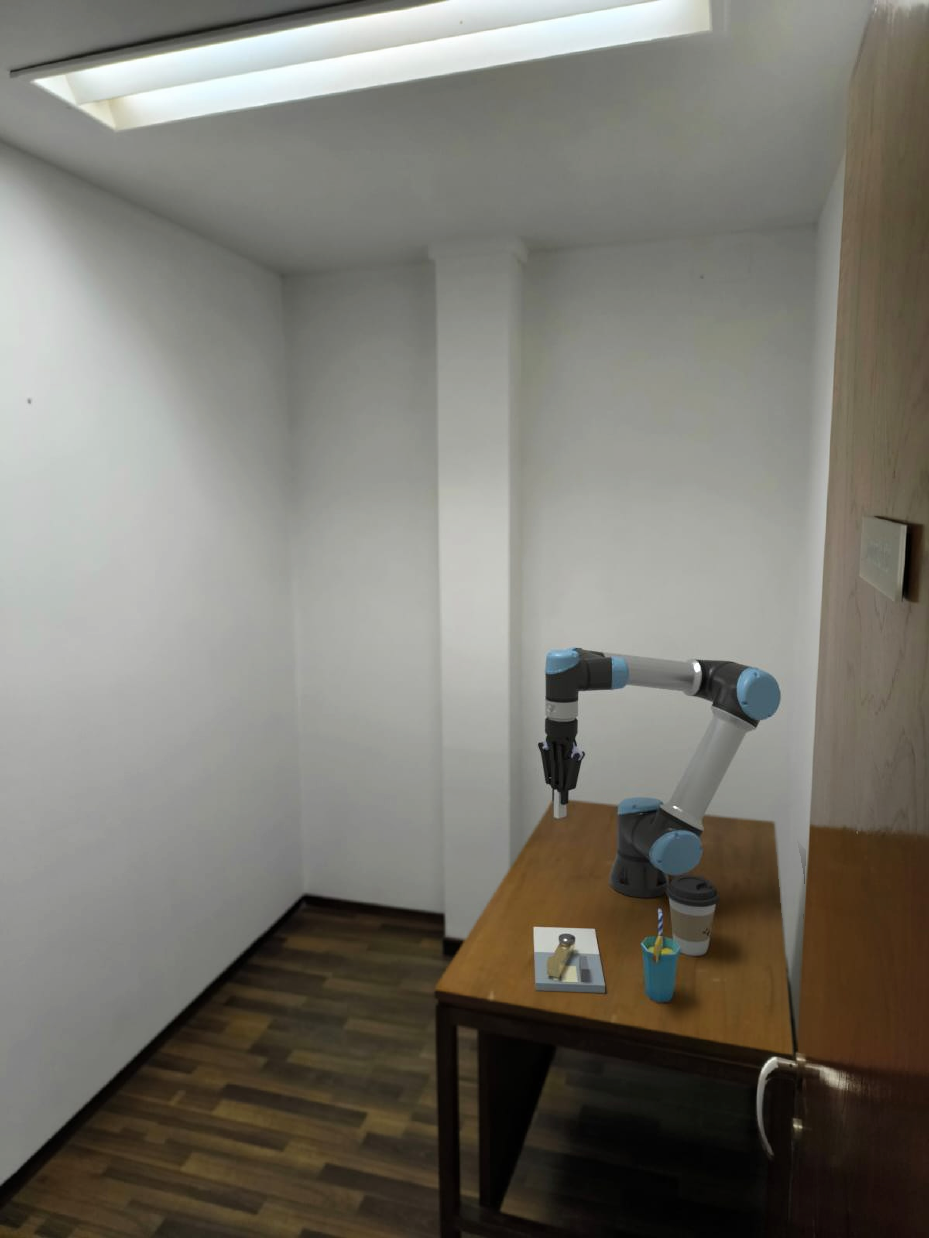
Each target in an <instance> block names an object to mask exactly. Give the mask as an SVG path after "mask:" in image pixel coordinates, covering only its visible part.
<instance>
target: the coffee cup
mask: <svg viewBox="0 0 929 1238" xmlns="http://www.w3.org/2000/svg"><path fill="white" fill-rule="evenodd" d="M665 894H666V895H667V897H668V901H669V902H668V903H669V911H670V922H671V930H672V931H671V932H672V939H673V940H674V941H675V942H676V943H677V944H678V945H679V946H680V947H681V949H680V953H681V954H683V955H686V956H691V957H692V956H693V957H699V956H704V955H705V954H706V953H707V951H708V949H709V945H710V940H711V939H710V938H711V934H712V933H711V932H712V927H713V921H714V916H715V911H716V904H718V902H719V901H720V897H719V895H720V894H719V891H718V890H717V888H716V887H715V885H714V883H713V882H712V881H711V880H709V879H707V878H705V877H702V876H698V875H692V874H685V875H683V874H681V875H677V876H676V877H674V878H673V879H671V882H670V883H669V885H668V887H667V891H666V893H665Z"/></svg>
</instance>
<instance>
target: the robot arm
mask: <svg viewBox="0 0 929 1238" xmlns="http://www.w3.org/2000/svg"><path fill="white" fill-rule="evenodd" d="M544 673H545V696H544V697H545V699H544V700H545V703H544V704H545V706H544V707H545V710H544V711H545V712H544V713H545V714H544V715H545V716H546V717H545V719H544V732H545V735H546V737H545V739H544V740H542V741H541V742H540V741H539V742H538V743H537V748H538V749H539V752H540V755H541V762H542V763H541V764H542V769H543V775H544V782H545V784H546V785H549V786H550V787H551V790H552V791H551V792H552V793H551V799H552V802H553V818H555V819H563V818H565V817H567V806H568V804H569V797H570V796H569V793H570V791H571V790H575V789H576V788H577V784H578V780H579V774H580V770H581V767H582V766H581V765H582V761H583V759H584V758H585V756H586V752H585V751H581V750H580V749H579V748H578V747H577V746H578V742H577V740H576V737H577V736H578V733H579V720H578V716H579V692H589V691H591V692H592V691H595V692H596V691H614V690H620V689H623V688H625V687H626V686H634V687H641V688H642V687H643V688H652V689H660V690H667V691H669V690H670V691H675V692H676V691H677V692H683V694H684V695H686V696H687V697H694V698H699V699H703V700H706V701H709V702H711V703H712V704H711V706H710V710H711V713H712V719H711V720H710V722H709V724H708V726H707V728H706V730H705V732H704V733H703V736H702V737H701V739H700V741H699V743H698V745H697V747H696V748H695V751H694V753H693V755H692V757H691V758H690V760H689V762H688V765H687V767H686V768H685V770H684V772H683V774H682V776H681V778H680V780H679V781H678V784H677V786H676V787H675V790H674V791H673V793H672V795H671V797H670V799H669V801H668V802H666V803H664V802H663V801H662V800H661V799H659V798H655V797H654V798H653V797H646V796H643V797H641V796H639V797H629V798H625V799H623V800H620V802H619V803H618V809H617V814H616V815H617V833H616V834H617V838H616V839H617V843H616V846H617V847H616V856H615V859H614V862H613V865H612V868H611V870H610V872H609V885H610V887H611V888H612V889H613V890H614V891H616V892H618V893H620V894H623V895H626V896H629V897H634V898H646V899H647V898H657V897H660V896H663V895H664V894H667V893H666V891H667V887H668V885H669V884H670V883H669V882H670V881H669V880H670V879H669V876H668V875H670V876H682V875H683V874H687V873H689V872H691V871H692V870H693V869H694V868H695V867H696V866H697V865H698V864H699V862H700V860H701V859H702V856H703V844H702V842H701V837H702V834H703V832H704V831H705V829H704V826H703V821H702V820H703V818H704V816H705V814H706V812H707V810H708V808H709V806H710V805H711V802H712V800H713V799H714V796H715V795H716V792H717V791H718V789H719V787H720V786H721V785H720V784H721V783H722V781H723V779H724V777H725V775H726V774H727V772H728V770H729V768H730V766H731V764H732V761H733V759H734V758H735V756H736V754H737V752H738V750H739V747H740V746H741V744H742V742H743V740H744V738H745V736H746V734H747V733H748V732H749V733H750V732H752V731H755V730H757V728H758V725H759V724H760V722H761V721H764V720H767V719H768V718H771V717H773V716H774V715H775V714H776V712H777V711H778V709H779V706H780V704H781V698H782V695H781V694H782V692H781V690H780V687H779V686H780V685H779V683H778V680H777V679H776V678H775V677H774V676H773V675H772V674H770V673H769V672H767V671H765V670H762V669H760V668H758V667H752V666H750V665H745V664H740V663H738V662H735V661H730V660H717V659H715V660H714V659H713V660H712V659H711V660H710V659H696V658H689V659H687V661H678V660H672V659H671V660H670V659H663V658H654V657H649V656H648V657H646V656H637V655H630V654H622V653H621V654H620V653H616V652H615V653H614V652H606V651H605V652H604V651H597V650H596V651H595V650H587V649H583V648H581V647H576V646H575V647H573V646H572V647H568V648H566V649H554V650H551V651H550V650H549V651H548V653H547V654H546V658H545V669H544Z"/></svg>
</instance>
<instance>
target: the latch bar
mask: <svg viewBox="0 0 929 1238" xmlns="http://www.w3.org/2000/svg"><path fill="white" fill-rule="evenodd" d="M574 947H575V936H573V935H571V934H561V935H559V945H558V947H557V948H556V950H555V952H554V954H553V956H552V957H551V956H550V957H549V958H548V960H547V975H550V976H555V977H560V975H561V973H562V971H563V969H564V967H565V965H566V963H567V961H568V959H569V957H570V955H571V953H572V951H573V949H574Z"/></svg>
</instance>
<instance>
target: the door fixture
mask: <svg viewBox="0 0 929 1238" xmlns="http://www.w3.org/2000/svg"><path fill="white" fill-rule="evenodd" d="M561 934H571V935H573V936H575V947H574V949H573V951H572V953H571V955H570V957H569V959H568V961H567V963H566V965H565V967H564V969H563V971H562V973H561V975H560V977H555V976H550V975H547V960H548V958H549V957H550V956H551V957H552V956H553V954H554V952H555V950H556V948H557V947H558V945H559V935H561ZM533 955H534V956H533V958H534V959H533V961H534V986H535V989H534V990H535V991H540V992H542V991H544V992H545V991H547V992H567V993H568V992H573V993H596V994H606V983H605V979H604V973H603V972H604V971H603V967H602V961H601V957H600V956H601V955H600V951H599V945H598V941H597V934H596V929H595V928H582V927H581V928H579V927H578V928H577V927H551V926H550V927H549V926H548V927H546V926H533Z"/></svg>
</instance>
